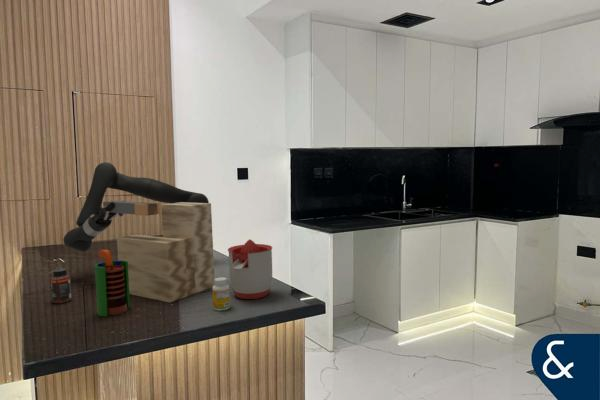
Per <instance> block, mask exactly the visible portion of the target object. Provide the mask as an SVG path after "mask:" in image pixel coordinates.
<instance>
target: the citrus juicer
mask: <svg viewBox="0 0 600 400" xmlns="http://www.w3.org/2000/svg"><path fill="white" fill-rule="evenodd" d="M272 249H273V246H272V245H269V244H261V243H255V241H253V240H252V239H248V240H246V242H245V243H244V244H239V245H234V246H230V247H229V248H227V251H228V266H229V267H228V269H229V270H228V271H229V280H230V285H231V288H232V291H233V293H234V295H235V297H236V298H239V299H243V300H244V299H246V300H258V299H260V298H263V297H266V296H267V295H269V292H270V289H271V285H272V282H273V281H272V280H273V252H272Z"/></svg>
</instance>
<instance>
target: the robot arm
mask: <svg viewBox="0 0 600 400" xmlns="http://www.w3.org/2000/svg"><path fill="white" fill-rule="evenodd" d="M107 189H110V190H111V189H113V190H117V191H122V192H126V193H129V194H132V195H134V196H139V197H142V198H145V199H148V200H150V201H153V202H157V203H164V204H171V203H179V202H189V203H210V202H209V199H208V197H207V195H205V194H203V193H199V192H195V191H190V190H189V191H188V190H184V189H181V188H178V187H176V186H174V185H171V184H168V183H166V182H163V181H161V180H157V179H154V178H150V177H137V176H136V177H135V176H128V175H125V174H122V173H120V172H118V171H117V169H116V166H114V165H113V164H112V163H110V162H105V161H104V162H100V163H99V164H98V165H97V166H96V167H95V169H94V173H93V177H92V182H91V185H90V188H89V191H88V193H87V196H86V198H85V201H84V203H83V205H82V208H81V210H80V212H79V215H78V216H77V219H76V222H75V223H76V224H75V225H77V227H75V228H72V229H70V230H69V231H68V232H67V233H65V235H64V237H63V244H64V245H65V246H66V247H68V248H70V249H73V250H77V251H80V252H83V253H84V252H87V251H88V250H89V249H90V248H91V246H92V243H93V240H94V239H95V238H96V237H97V236H98V235H100V234H101V233H103V232H104V231H106V229H108V227H110V226H111V224H112V221H113V220H114V219H115V218H116V217H117V216H119V217H123V216H124V214H122V213H109V211H111V210H112V209H113V208H114V207H115V204H114V202H111V203H110V204H109V205H107V206H105V207H104V208H103V207H102V203H103V202H104V201H103V200H104V197H105V194H106V191H107Z"/></svg>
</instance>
